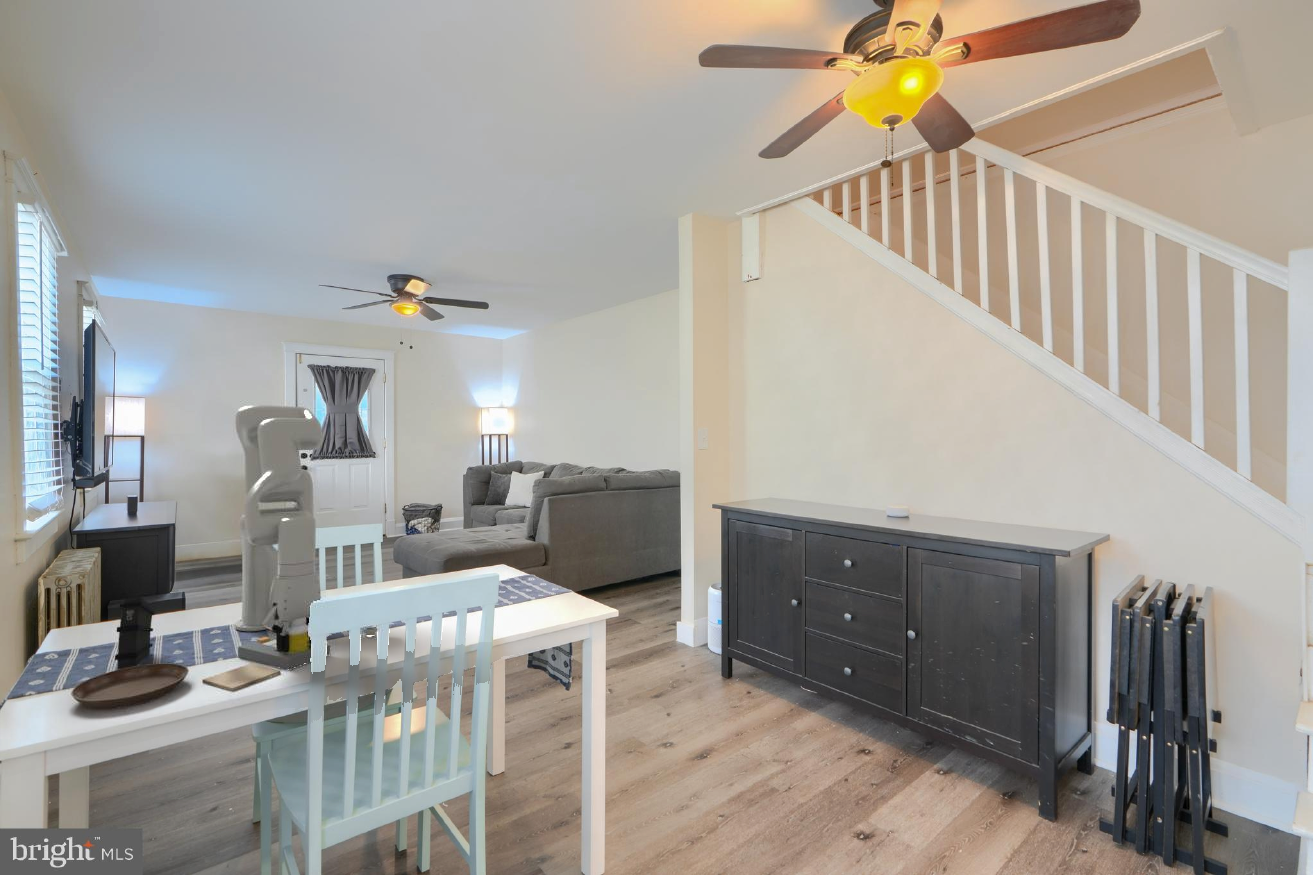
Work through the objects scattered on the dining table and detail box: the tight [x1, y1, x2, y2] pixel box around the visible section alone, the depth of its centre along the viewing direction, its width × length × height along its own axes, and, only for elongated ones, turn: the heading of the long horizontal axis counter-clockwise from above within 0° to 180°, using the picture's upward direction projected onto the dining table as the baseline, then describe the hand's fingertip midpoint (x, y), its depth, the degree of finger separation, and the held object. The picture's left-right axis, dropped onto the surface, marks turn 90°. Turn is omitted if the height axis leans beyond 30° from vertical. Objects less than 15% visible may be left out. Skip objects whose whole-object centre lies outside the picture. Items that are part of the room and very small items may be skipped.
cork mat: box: [201, 663, 281, 692], centre depth 128 cm, size 10×10×1 cm
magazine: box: [114, 596, 156, 670], centre depth 137 cm, size 4×13×15 cm, turn 26°
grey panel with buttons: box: [237, 634, 331, 671], centre depth 141 cm, size 10×18×3 cm, turn 66°
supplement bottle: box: [282, 617, 309, 655], centre depth 139 cm, size 5×5×10 cm
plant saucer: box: [70, 662, 189, 710], centre depth 120 cm, size 18×18×3 cm
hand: (295, 646), depth 139 cm, fingers closed on supplement bottle, 5 cm apart
